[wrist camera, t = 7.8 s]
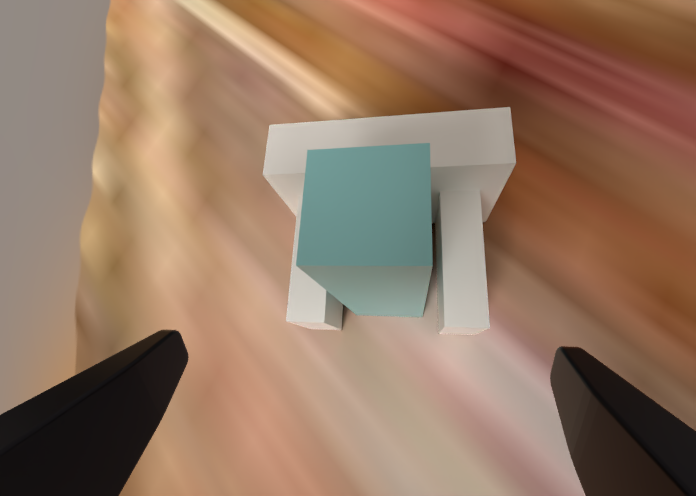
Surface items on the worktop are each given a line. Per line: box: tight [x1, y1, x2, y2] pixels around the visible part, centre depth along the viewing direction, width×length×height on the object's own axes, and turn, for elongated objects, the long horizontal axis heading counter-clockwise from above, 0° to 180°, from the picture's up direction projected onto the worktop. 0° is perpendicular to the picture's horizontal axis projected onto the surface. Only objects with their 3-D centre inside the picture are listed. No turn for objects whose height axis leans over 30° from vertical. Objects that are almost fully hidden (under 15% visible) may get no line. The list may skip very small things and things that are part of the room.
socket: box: [263, 107, 516, 335], centre depth 19 cm, size 10×12×7 cm
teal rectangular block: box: [296, 143, 433, 317], centre depth 17 cm, size 6×4×12 cm
